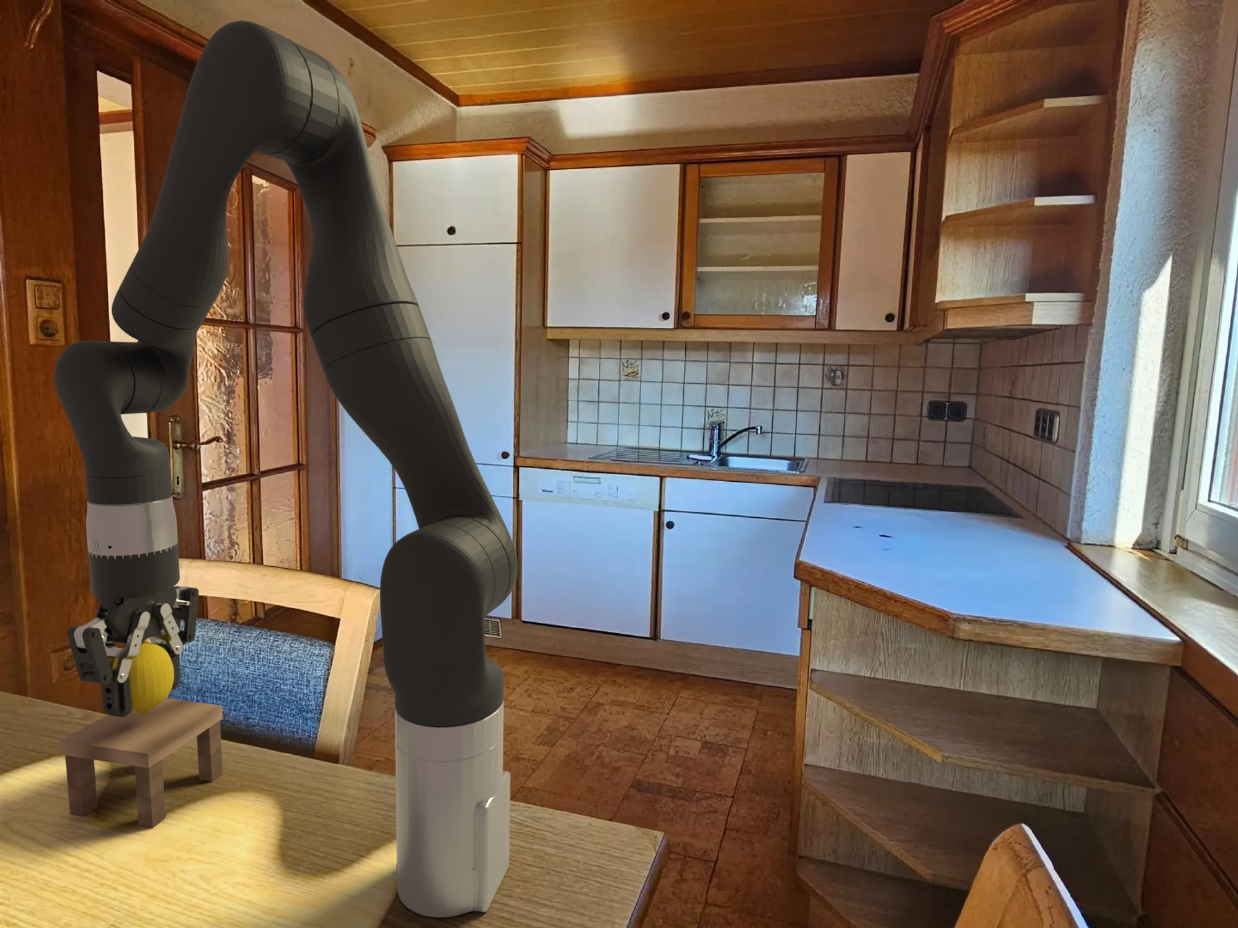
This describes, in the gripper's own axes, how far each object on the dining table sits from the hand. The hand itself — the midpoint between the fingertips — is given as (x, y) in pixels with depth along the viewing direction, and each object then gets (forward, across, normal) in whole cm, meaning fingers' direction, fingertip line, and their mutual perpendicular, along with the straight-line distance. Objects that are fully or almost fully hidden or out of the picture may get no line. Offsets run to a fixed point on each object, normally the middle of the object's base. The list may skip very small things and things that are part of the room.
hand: (144, 700), depth 75 cm
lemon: (+2, 0, 0) cm, 2 cm away
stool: (+10, 0, 0) cm, 10 cm away
